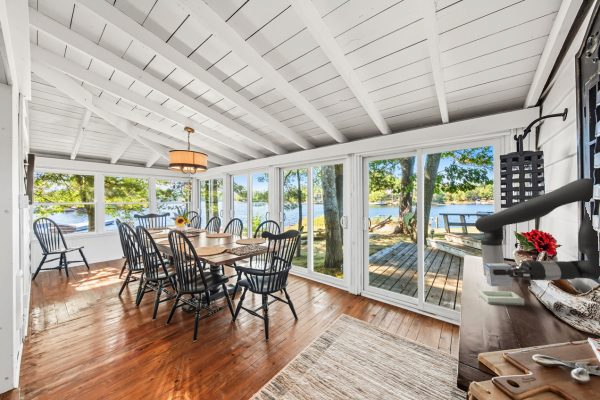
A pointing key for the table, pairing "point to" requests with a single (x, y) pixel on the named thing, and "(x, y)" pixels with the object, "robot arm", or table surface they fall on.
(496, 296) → the tray
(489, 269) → the medicine box
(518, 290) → the table surface
